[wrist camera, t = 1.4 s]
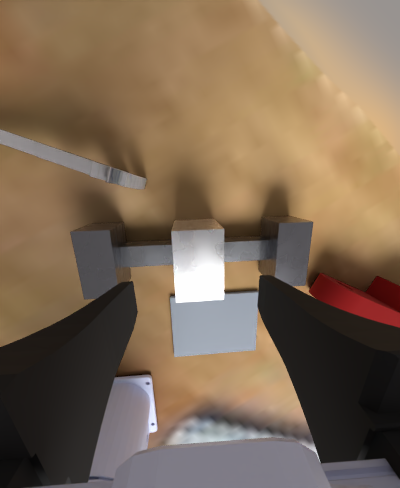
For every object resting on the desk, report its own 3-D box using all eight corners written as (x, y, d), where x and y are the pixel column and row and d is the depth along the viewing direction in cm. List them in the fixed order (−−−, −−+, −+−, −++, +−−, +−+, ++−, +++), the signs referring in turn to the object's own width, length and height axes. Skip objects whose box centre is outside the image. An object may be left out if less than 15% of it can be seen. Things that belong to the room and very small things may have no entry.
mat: (254, 347, 25) (255, 350, 25) (174, 354, 24) (174, 356, 24) (257, 290, 23) (258, 292, 23) (170, 296, 22) (169, 297, 22)
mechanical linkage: (422, 296, 25) (477, 322, 21) (387, 340, 27) (431, 373, 22) (322, 250, 23) (359, 266, 18) (290, 301, 24) (316, 330, 19)
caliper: (148, 178, 19) (132, 173, 13) (145, 189, 19) (128, 189, 13) (-102, 94, 16) (-274, 36, 10) (-101, 109, 16) (-270, 61, 10)
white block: (214, 272, 22) (223, 299, 17) (177, 274, 22) (176, 302, 16) (213, 218, 20) (224, 228, 15) (174, 220, 20) (171, 231, 15)
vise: (284, 269, 22) (305, 285, 19) (102, 279, 21) (84, 299, 17) (289, 215, 21) (313, 221, 17) (92, 223, 20) (70, 231, 16)
